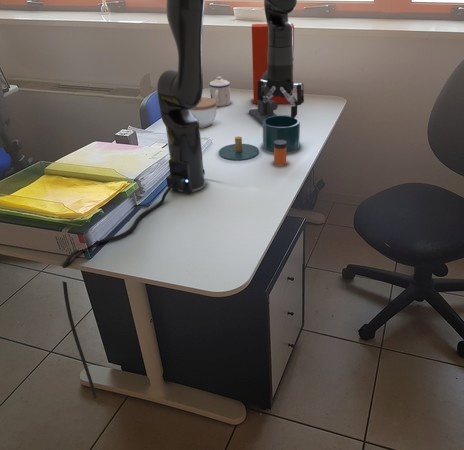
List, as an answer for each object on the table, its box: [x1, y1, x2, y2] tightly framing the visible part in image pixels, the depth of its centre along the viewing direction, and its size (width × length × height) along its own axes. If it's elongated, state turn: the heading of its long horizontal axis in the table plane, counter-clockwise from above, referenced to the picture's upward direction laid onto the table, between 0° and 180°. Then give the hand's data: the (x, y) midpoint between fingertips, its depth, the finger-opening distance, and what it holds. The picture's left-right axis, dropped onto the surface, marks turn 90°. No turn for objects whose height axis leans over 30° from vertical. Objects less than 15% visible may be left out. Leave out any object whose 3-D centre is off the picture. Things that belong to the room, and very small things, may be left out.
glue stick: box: [273, 140, 287, 166], centre depth 149 cm, size 4×4×8 cm
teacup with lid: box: [208, 76, 231, 107], centre depth 203 cm, size 12×9×12 cm
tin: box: [262, 114, 301, 154], centre depth 161 cm, size 13×13×10 cm
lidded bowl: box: [190, 96, 217, 129], centre depth 181 cm, size 13×13×11 cm
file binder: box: [251, 23, 295, 105], centre depth 201 cm, size 8×17×32 cm, turn 90°
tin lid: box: [218, 136, 260, 162], centre depth 157 cm, size 14×14×6 cm
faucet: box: [248, 70, 279, 126], centre depth 186 cm, size 18×16×20 cm
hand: (280, 115), depth 143 cm, fingers open, 8 cm apart
